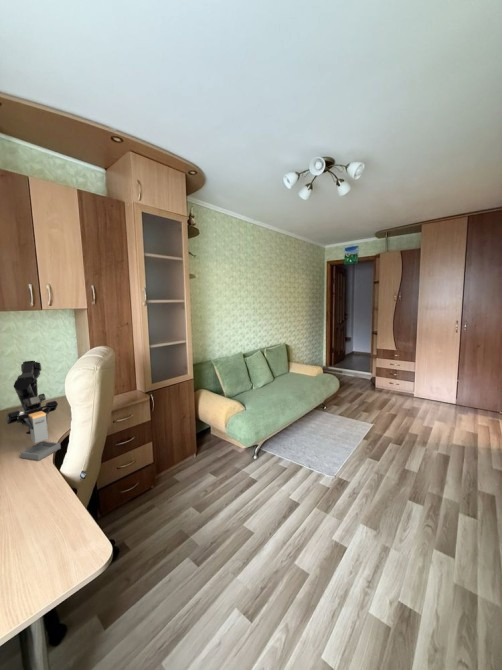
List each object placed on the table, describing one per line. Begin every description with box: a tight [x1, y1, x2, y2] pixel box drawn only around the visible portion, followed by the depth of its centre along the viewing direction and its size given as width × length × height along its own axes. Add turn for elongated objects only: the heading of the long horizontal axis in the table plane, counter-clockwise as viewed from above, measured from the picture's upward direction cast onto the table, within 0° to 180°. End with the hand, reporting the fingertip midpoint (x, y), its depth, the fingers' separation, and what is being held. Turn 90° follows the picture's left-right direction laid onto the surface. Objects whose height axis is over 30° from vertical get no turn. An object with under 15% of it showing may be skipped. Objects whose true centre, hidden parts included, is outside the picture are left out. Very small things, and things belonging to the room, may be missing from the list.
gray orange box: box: [28, 411, 49, 444], centre depth 125 cm, size 6×5×12 cm
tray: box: [19, 440, 62, 462], centre depth 126 cm, size 11×11×3 cm
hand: (39, 426), depth 124 cm, fingers closed on gray orange box, 5 cm apart
